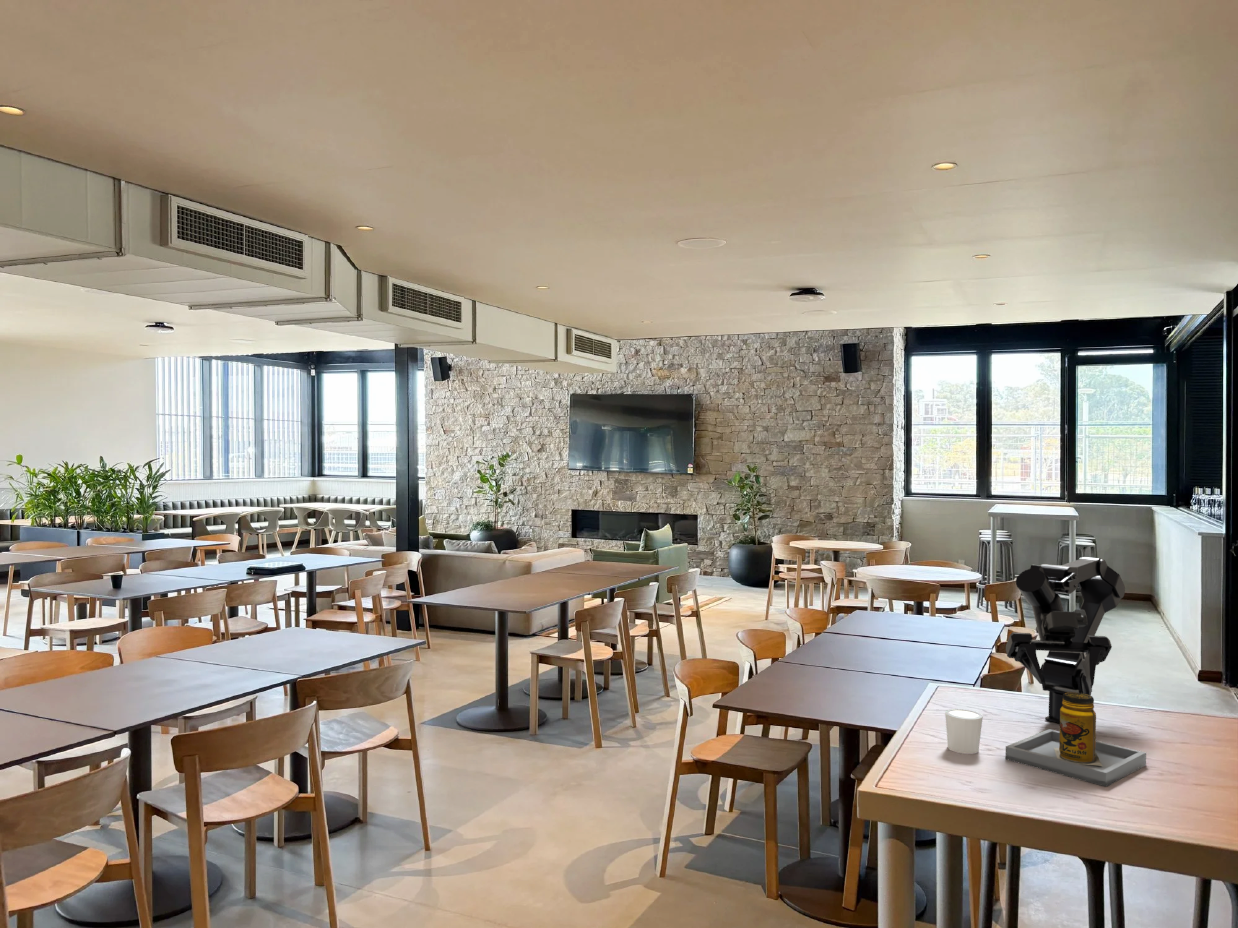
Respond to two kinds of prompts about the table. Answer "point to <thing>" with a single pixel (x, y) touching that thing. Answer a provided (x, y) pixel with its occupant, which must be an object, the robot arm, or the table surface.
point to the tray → (1043, 756)
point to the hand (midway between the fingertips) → (1066, 683)
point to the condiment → (1077, 730)
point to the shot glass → (963, 730)
